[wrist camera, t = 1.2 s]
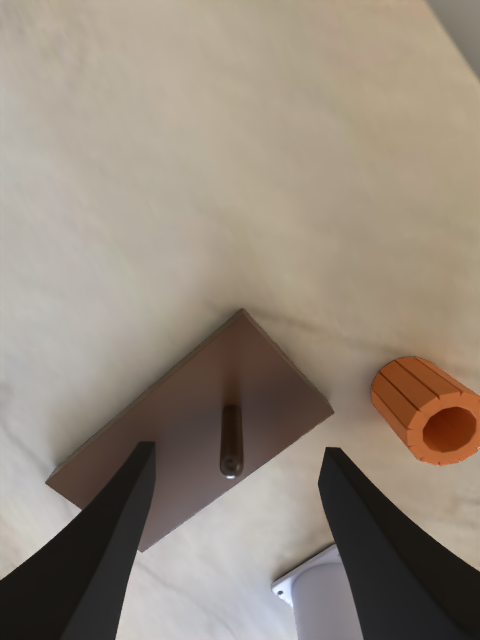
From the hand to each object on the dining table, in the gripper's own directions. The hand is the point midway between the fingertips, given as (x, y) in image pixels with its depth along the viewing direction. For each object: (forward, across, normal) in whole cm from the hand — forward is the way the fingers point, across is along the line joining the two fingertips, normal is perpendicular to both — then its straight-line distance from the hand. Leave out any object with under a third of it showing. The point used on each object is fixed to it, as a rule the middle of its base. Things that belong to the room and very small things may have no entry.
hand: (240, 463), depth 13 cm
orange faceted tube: (+9, -13, +2) cm, 16 cm away
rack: (+10, +3, +7) cm, 12 cm away
